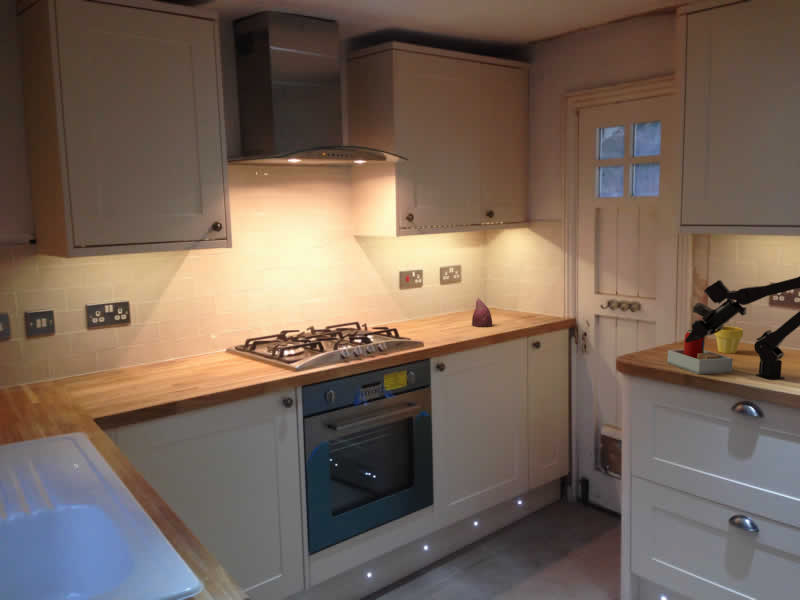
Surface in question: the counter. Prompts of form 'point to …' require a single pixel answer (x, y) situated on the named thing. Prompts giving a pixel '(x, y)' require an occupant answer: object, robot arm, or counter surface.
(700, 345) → the beverage can
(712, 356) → the walnut cube
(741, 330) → the plant pot
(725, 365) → the tote
